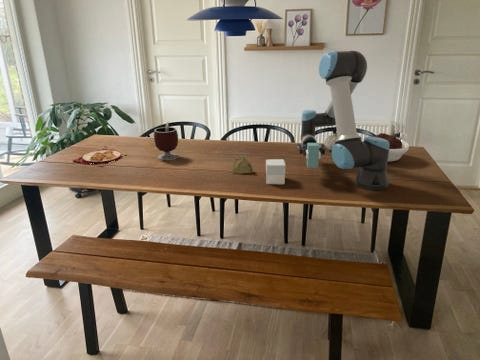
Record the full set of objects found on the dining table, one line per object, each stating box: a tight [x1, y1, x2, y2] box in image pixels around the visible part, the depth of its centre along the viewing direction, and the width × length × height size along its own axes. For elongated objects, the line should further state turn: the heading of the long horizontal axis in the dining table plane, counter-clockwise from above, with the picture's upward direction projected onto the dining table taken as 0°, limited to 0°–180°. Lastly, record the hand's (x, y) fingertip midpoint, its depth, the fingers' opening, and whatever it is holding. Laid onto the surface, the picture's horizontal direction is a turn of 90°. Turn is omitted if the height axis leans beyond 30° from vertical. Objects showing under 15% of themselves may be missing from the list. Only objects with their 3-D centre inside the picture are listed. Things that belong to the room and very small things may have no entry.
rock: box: [231, 153, 254, 175], centre depth 202 cm, size 11×9×10 cm
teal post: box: [306, 142, 320, 168], centre depth 186 cm, size 5×5×11 cm
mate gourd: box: [153, 121, 179, 161], centre depth 226 cm, size 16×14×20 cm
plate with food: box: [72, 145, 122, 168], centre depth 229 cm, size 24×26×4 cm
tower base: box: [265, 173, 286, 185], centre depth 191 cm, size 9×9×5 cm
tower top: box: [265, 158, 286, 176], centre depth 189 cm, size 9×9×5 cm
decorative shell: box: [323, 132, 338, 152], centre depth 236 cm, size 18×18×10 cm
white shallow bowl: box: [371, 132, 410, 162], centre depth 218 cm, size 25×25×15 cm
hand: (313, 156), depth 181 cm, fingers closed on teal post, 5 cm apart
